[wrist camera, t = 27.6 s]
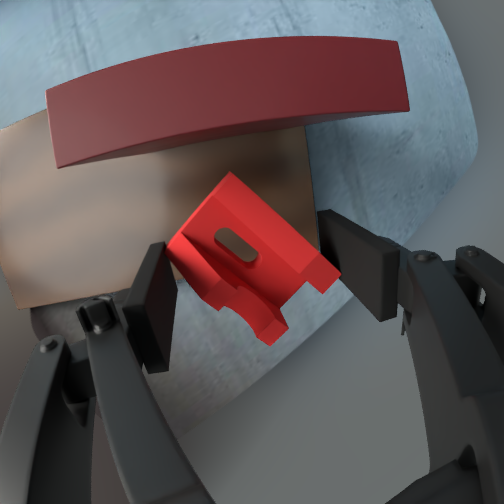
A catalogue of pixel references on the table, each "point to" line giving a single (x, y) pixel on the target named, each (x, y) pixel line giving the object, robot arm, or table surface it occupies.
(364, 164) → the table surface
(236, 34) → the table surface
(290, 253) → the bracket
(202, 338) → the table surface
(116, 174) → the stand
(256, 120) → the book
